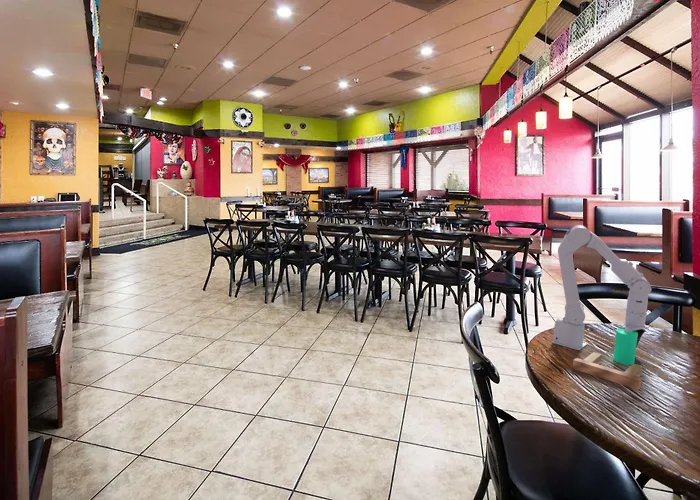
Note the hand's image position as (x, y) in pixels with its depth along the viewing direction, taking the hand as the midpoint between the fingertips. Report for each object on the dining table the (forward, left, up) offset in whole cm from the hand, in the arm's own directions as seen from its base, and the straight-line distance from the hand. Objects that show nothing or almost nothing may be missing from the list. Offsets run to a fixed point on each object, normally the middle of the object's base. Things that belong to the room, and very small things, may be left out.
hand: (631, 348), depth 142 cm
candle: (0, -8, -2) cm, 8 cm away
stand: (0, -21, -2) cm, 21 cm away
